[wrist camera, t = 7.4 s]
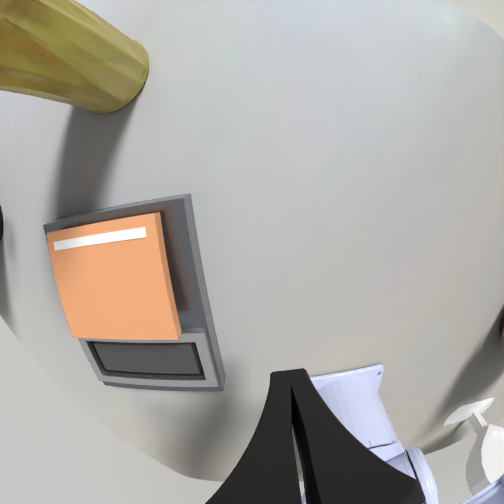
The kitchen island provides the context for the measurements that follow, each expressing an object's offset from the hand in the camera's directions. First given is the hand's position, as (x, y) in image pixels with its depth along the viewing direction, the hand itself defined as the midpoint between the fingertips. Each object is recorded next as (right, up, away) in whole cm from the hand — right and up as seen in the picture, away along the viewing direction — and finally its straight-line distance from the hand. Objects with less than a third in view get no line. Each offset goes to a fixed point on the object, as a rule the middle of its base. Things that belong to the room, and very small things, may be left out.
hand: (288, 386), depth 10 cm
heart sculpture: (+35, -21, +18) cm, 45 cm away
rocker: (-11, +3, +6) cm, 13 cm away
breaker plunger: (-10, -3, +12) cm, 16 cm away
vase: (-12, +18, +5) cm, 22 cm away
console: (-11, +1, +11) cm, 15 cm away
